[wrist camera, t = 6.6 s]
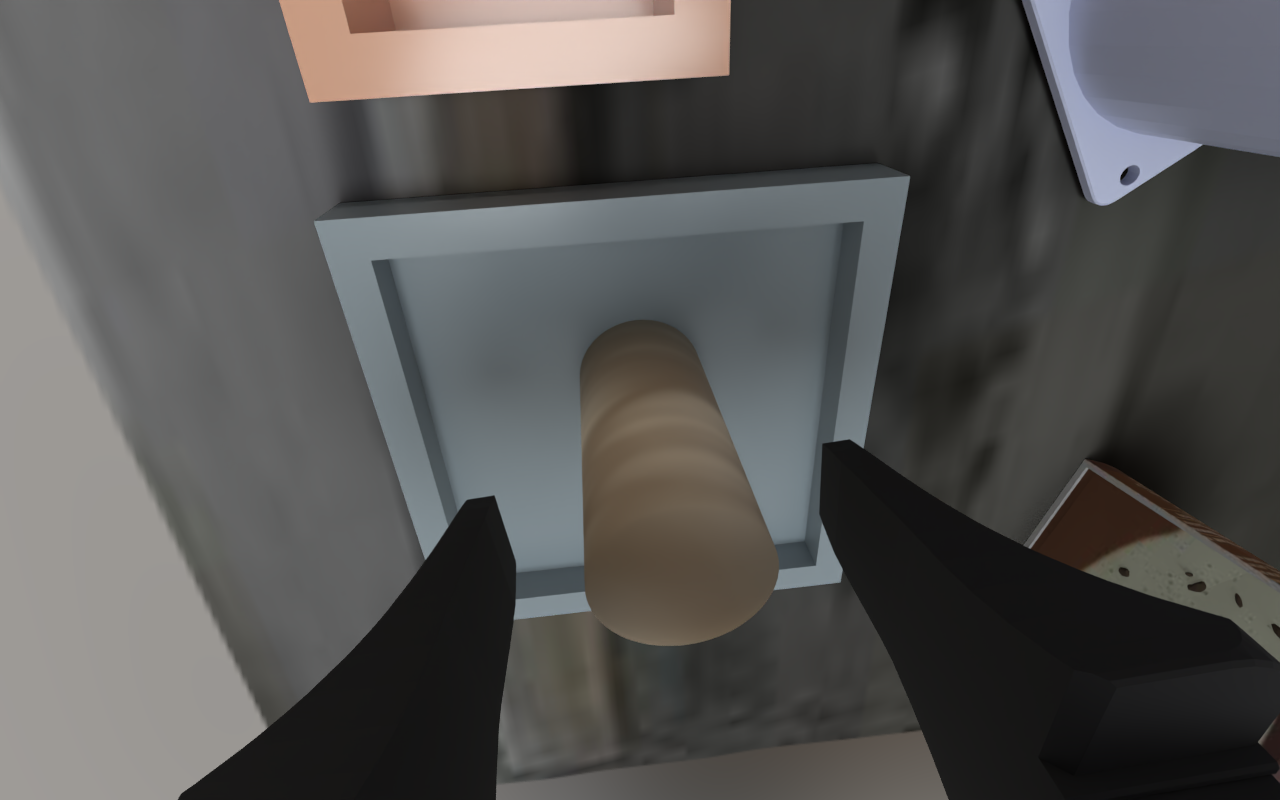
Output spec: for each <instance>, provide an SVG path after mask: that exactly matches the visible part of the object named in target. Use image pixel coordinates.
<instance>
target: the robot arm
mask: <svg viewBox="0 0 1280 800" xmlns="http://www.w3.org/2000/svg"><path fill="white" fill-rule="evenodd" d="M1022 2H1023V6H1024V9H1025V12H1026V15H1027V18H1028V21H1029V24H1030V27H1031V31H1032V34H1033V37H1034V40H1035V43H1036V46H1037V49H1038V52H1039V56H1040V59H1041V62H1042V65H1043V68H1044V71H1045V74H1046V78H1047V81H1048V84H1049V87H1050V90H1051V93H1052V96H1053V99H1054V103H1055V106H1056V109H1057V112H1058V115H1059V118H1060V121H1061V125H1062V128H1063V131H1064V134H1065V137H1066V140H1067V143H1068V146H1069V150H1070V153H1071V156H1072V159H1073V162H1074V165H1075V168H1076V172H1077V175H1078V178H1079V181H1080V184H1081V187H1082V190H1083V193H1084V196H1085V198H1086V199H1087V201H1089V202H1091V203H1094V204H1097V205H1100V206H1102V205H1109V204H1111V203H1113V202H1115V201H1117V200H1118V199H1120V198H1121V197H1123V196H1124V195H1126V194H1127V193H1129V192H1130V191H1132V190H1134V189H1135V188H1137V187H1138V186H1140V185H1141V184H1143V183H1144V182H1146V181H1148V180H1149V179H1151V178H1152V177H1154V176H1155V175H1157V174H1158V173H1160V172H1162V171H1163V170H1165V169H1166V168H1168V167H1169V166H1171V165H1172V164H1174V163H1175V162H1177V161H1179V160H1180V159H1182V158H1183V157H1185V156H1186V155H1188V154H1189V153H1191V152H1193V151H1194V150H1196V149H1197V148H1199V147H1200V146H1202V145H1203V144H1204V145H1210V146H1216V147H1222V148H1228V149H1234V150H1240V151H1246V152H1252V153H1258V154H1264V155H1270V156H1276V157H1280V0H1022ZM1127 167H1128V172H1127V174H1126V176H1125V177H1124V178H1123V179H1122V180H1121V181H1120V176H1121V174H1122V172H1123V171H1124V170H1125V169H1126V168H1127ZM819 515H820V518H821V520H822V523H823V526H824V528H825V531H826V534H827V536H828V539H829V541H830V544H831V546H832V549H833V551H834V554H835V556H836V557H837V559H838V561H839V563H840V565H841V567H842V569H843V571H844V572H845V574H846V576H847V578H848V580H849V582H850V583H851V585H852V587H853V589H854V591H855V592H856V594H857V596H858V598H859V600H860V601H861V603H862V605H863V607H864V609H865V610H866V612H867V614H868V616H869V618H870V619H871V621H872V623H873V625H874V627H875V628H876V630H877V632H878V634H879V636H880V638H881V639H882V641H883V643H884V645H885V647H886V649H887V651H888V653H889V655H890V657H891V659H892V661H893V663H894V665H895V668H896V670H897V672H898V675H899V677H900V679H901V682H902V684H903V686H904V689H905V691H906V693H907V696H908V698H909V700H910V703H911V705H912V707H913V710H914V712H915V715H916V717H917V720H918V722H919V725H920V727H921V730H922V732H923V735H924V737H925V740H926V742H927V744H928V747H929V749H930V752H931V754H932V757H933V759H934V762H935V765H936V767H937V770H938V773H939V775H940V778H941V781H942V783H943V786H944V788H945V791H946V794H947V796H948V799H949V800H1280V783H1279V782H1278V781H1277V780H1276V779H1275V777H1274V776H1273V775H1272V774H1276V773H1277V772H1278V771H1279V769H1280V768H1279V765H1278V762H1277V761H1276V760H1275V759H1274V758H1273V757H1272V756H1271V755H1270V754H1269V753H1268V752H1267V751H1266V750H1265V749H1264V748H1263V747H1262V746H1261V745H1260V744H1259V743H1258V741H1259V740H1260V739H1261V737H1262V736H1263V735H1264V733H1265V732H1266V731H1267V729H1268V728H1269V727H1270V725H1271V724H1272V723H1273V721H1274V720H1275V719H1276V717H1277V716H1278V715H1279V713H1280V662H1279V661H1278V660H1277V659H1276V658H1274V657H1273V656H1272V655H1271V654H1270V653H1269V652H1268V651H1266V650H1265V649H1264V648H1263V647H1262V646H1261V645H1260V644H1258V643H1257V642H1256V641H1255V640H1254V639H1253V638H1252V637H1250V636H1249V635H1248V634H1247V633H1246V632H1245V631H1244V630H1243V629H1241V628H1240V627H1239V626H1238V625H1237V624H1235V623H1234V622H1233V621H1232V620H1231V619H1229V618H1225V617H1222V616H1218V615H1215V614H1212V613H1208V612H1205V611H1201V610H1198V609H1194V608H1191V607H1188V606H1184V605H1181V604H1177V603H1174V602H1171V601H1167V600H1164V599H1160V598H1157V597H1154V596H1151V595H1148V594H1145V593H1142V592H1139V591H1136V590H1133V589H1130V588H1128V587H1125V586H1122V585H1119V584H1116V583H1113V582H1110V581H1107V580H1105V579H1102V578H1100V577H1097V576H1094V575H1092V574H1089V573H1086V572H1084V571H1081V570H1079V569H1076V568H1074V567H1071V566H1069V565H1067V564H1064V563H1062V562H1060V561H1057V560H1055V559H1052V558H1050V557H1048V556H1045V555H1043V554H1041V553H1038V552H1036V551H1034V550H1032V549H1030V548H1027V547H1025V546H1023V545H1021V544H1019V543H1017V542H1015V541H1013V540H1011V539H1009V538H1007V537H1005V536H1003V535H1001V534H999V533H997V532H995V531H993V530H991V529H989V528H987V527H985V526H984V525H982V524H980V523H978V522H976V521H974V520H973V519H971V518H969V517H967V516H966V515H964V514H962V513H961V512H959V511H957V510H955V509H954V508H952V507H950V506H949V505H947V504H945V503H944V502H942V501H940V500H939V499H937V498H936V497H934V496H932V495H931V494H929V493H928V492H926V491H925V490H923V489H921V488H920V487H918V486H917V485H915V484H914V483H912V482H911V481H909V480H908V479H906V478H905V477H903V476H902V475H901V474H899V473H898V472H896V471H895V470H893V469H892V468H890V467H889V466H888V465H886V464H885V463H883V462H882V461H880V460H879V459H878V458H876V457H875V456H873V455H872V454H871V453H869V452H868V451H866V450H865V449H863V448H862V447H861V446H859V445H858V444H856V443H855V442H853V441H852V440H850V439H848V440H841V441H835V442H829V443H822V460H821V482H820V505H819ZM515 606H516V560H515V557H514V554H513V551H512V548H511V545H510V542H509V538H508V535H507V532H506V529H505V526H504V523H503V520H502V517H501V514H500V511H499V508H498V504H497V501H496V498H495V495H493V496H487V497H481V498H474V499H468V500H466V501H465V502H464V504H463V505H462V507H461V508H460V510H459V511H458V513H457V514H456V516H455V517H454V519H453V520H452V522H451V523H450V525H449V526H448V528H447V529H446V531H445V532H444V534H443V535H442V537H441V538H440V540H439V541H438V543H437V544H436V546H435V547H434V549H433V550H432V552H431V553H430V555H429V556H428V557H427V559H426V560H425V562H424V563H423V564H422V566H421V567H420V569H419V570H418V572H417V573H416V574H415V576H414V577H413V578H412V580H411V581H410V582H409V584H408V585H407V586H406V588H405V589H404V590H403V591H402V593H401V594H400V595H399V597H398V598H397V599H396V600H395V602H394V603H393V604H392V606H391V607H390V608H389V609H388V611H387V612H386V613H385V614H384V615H383V617H382V618H381V619H380V620H379V621H378V623H377V624H376V625H375V626H374V627H373V628H372V630H371V631H370V632H369V633H368V634H367V635H366V636H365V637H364V638H363V639H362V640H361V642H360V643H359V644H358V645H357V646H356V647H355V648H354V649H353V650H352V651H351V652H350V653H349V654H348V655H347V656H346V657H345V658H344V659H343V660H342V661H341V662H340V663H339V664H338V665H337V666H336V667H335V668H334V669H333V670H332V671H331V672H330V673H329V674H328V675H327V676H326V677H325V678H323V679H322V680H321V681H320V682H319V683H318V684H317V685H316V686H315V687H314V688H313V689H312V690H311V691H310V692H309V693H308V694H307V695H306V696H305V697H303V698H302V699H301V700H300V701H299V702H298V703H297V704H295V705H294V706H293V707H292V708H291V709H290V710H289V711H287V712H286V713H285V714H284V715H283V716H282V717H280V718H279V719H278V720H277V721H276V722H274V723H273V724H272V725H271V726H270V727H268V728H267V729H266V730H265V731H264V732H262V733H261V734H260V735H259V736H258V737H257V738H255V739H254V740H253V741H251V742H250V743H249V744H247V745H246V746H245V747H244V748H243V749H241V750H240V751H239V752H237V753H236V754H235V755H233V756H232V757H230V758H229V759H228V760H227V761H225V762H224V763H223V764H221V765H220V766H218V767H217V768H216V769H214V770H213V771H212V772H210V773H209V774H208V775H206V776H205V777H204V778H202V779H201V780H200V781H198V782H197V783H196V784H195V785H193V786H192V787H190V788H189V789H187V790H186V791H184V792H183V793H182V794H181V795H180V797H179V799H178V800H496V776H497V755H498V734H499V721H500V711H501V703H502V696H503V689H504V682H505V676H506V669H507V662H508V655H509V649H510V642H511V635H512V628H513V621H514V613H515Z"/></svg>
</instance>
